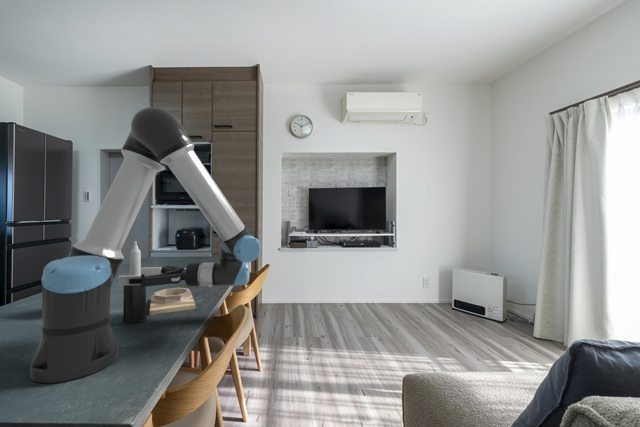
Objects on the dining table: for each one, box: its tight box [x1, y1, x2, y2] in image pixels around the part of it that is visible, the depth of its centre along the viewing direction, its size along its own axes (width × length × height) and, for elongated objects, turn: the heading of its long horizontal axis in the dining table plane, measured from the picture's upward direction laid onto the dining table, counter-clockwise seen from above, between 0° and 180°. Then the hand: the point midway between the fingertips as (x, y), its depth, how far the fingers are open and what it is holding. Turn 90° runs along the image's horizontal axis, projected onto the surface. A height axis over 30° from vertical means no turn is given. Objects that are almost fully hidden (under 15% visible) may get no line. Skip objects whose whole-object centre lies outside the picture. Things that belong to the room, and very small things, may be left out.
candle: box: [122, 240, 147, 325], centre depth 92 cm, size 5×5×25 cm
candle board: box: [149, 287, 196, 316], centre depth 109 cm, size 20×14×4 cm
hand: (130, 275), depth 92 cm, fingers open, 13 cm apart
